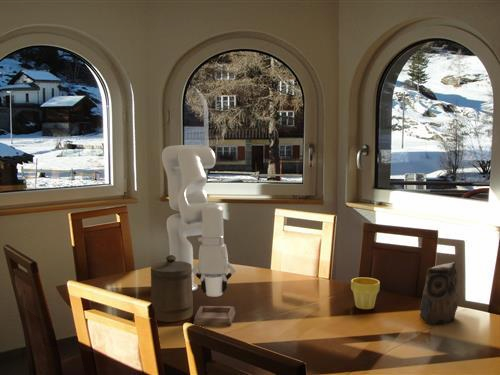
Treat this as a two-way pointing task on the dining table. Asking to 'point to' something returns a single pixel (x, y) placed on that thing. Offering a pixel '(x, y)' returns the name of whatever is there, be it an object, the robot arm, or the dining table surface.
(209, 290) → the white cup
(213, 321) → the square wooden tray
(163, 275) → the wooden container
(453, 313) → the owl
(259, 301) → the dining table surface
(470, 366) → the dining table surface
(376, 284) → the plant pot
